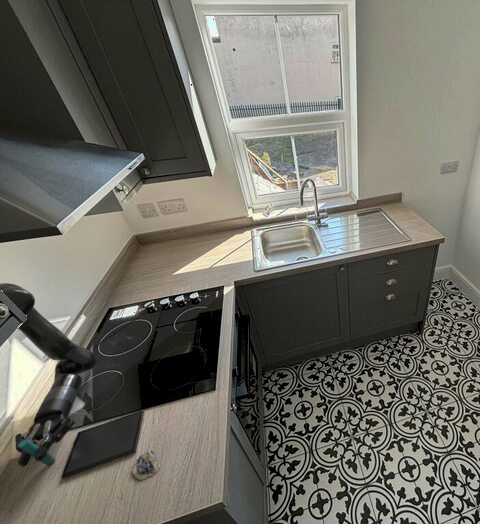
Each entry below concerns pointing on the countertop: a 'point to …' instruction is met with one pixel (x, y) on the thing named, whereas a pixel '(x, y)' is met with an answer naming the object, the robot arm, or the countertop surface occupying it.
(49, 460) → the teal bar
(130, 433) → the tablet
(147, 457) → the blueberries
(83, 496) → the countertop surface
